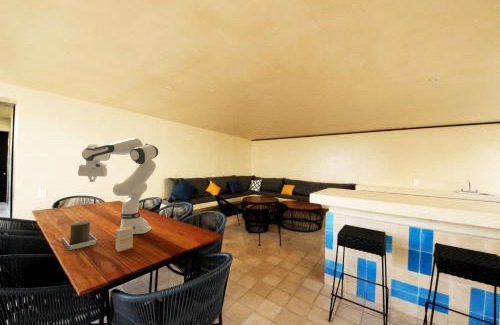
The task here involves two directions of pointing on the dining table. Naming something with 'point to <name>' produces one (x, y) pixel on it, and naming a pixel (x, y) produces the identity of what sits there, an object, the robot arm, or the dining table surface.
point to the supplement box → (124, 238)
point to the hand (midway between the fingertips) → (92, 181)
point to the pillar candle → (79, 232)
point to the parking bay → (70, 247)
